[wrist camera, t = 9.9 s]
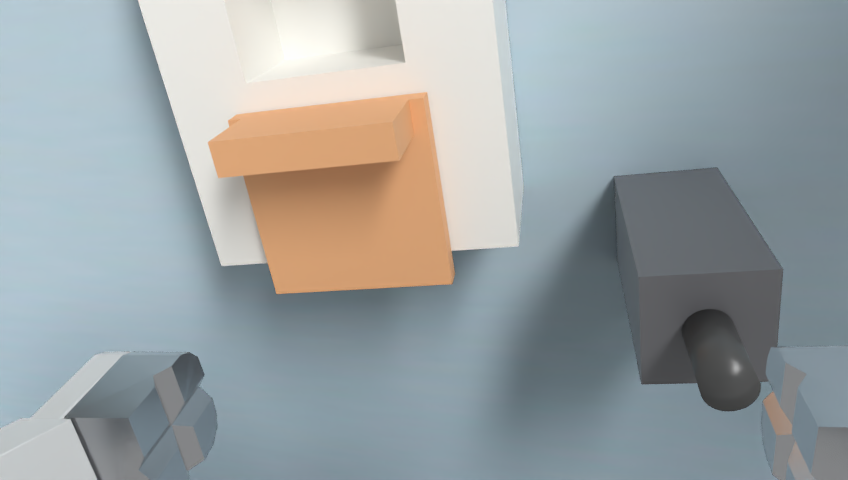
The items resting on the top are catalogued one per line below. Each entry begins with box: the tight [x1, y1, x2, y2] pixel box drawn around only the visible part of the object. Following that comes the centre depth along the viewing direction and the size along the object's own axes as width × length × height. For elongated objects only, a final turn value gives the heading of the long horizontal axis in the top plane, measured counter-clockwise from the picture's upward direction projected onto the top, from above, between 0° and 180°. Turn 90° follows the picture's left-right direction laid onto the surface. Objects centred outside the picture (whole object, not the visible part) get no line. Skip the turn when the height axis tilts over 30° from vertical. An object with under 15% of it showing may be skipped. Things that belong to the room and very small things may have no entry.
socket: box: [138, 0, 524, 266], centre depth 26 cm, size 16×12×6 cm
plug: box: [614, 168, 783, 411], centre depth 25 cm, size 4×4×12 cm
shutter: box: [208, 92, 455, 294], centre depth 24 cm, size 7×7×3 cm
